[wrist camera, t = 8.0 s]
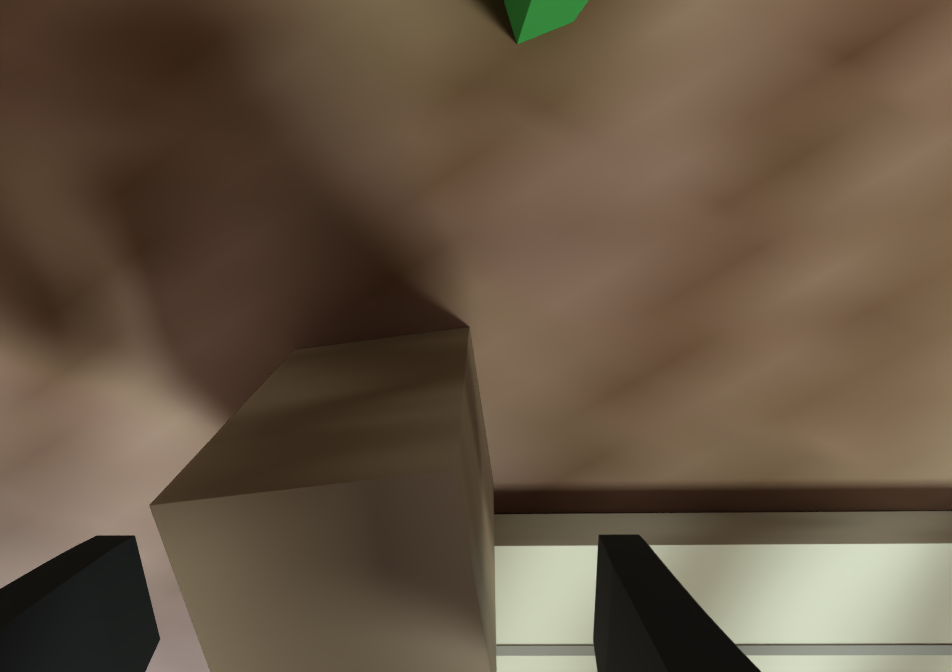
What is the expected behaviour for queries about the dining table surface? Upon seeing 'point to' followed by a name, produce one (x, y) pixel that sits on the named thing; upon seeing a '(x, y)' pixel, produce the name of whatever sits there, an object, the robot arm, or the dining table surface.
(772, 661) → the board
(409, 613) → the brown block with handle
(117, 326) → the dining table surface
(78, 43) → the dining table surface
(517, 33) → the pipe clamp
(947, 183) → the dining table surface
